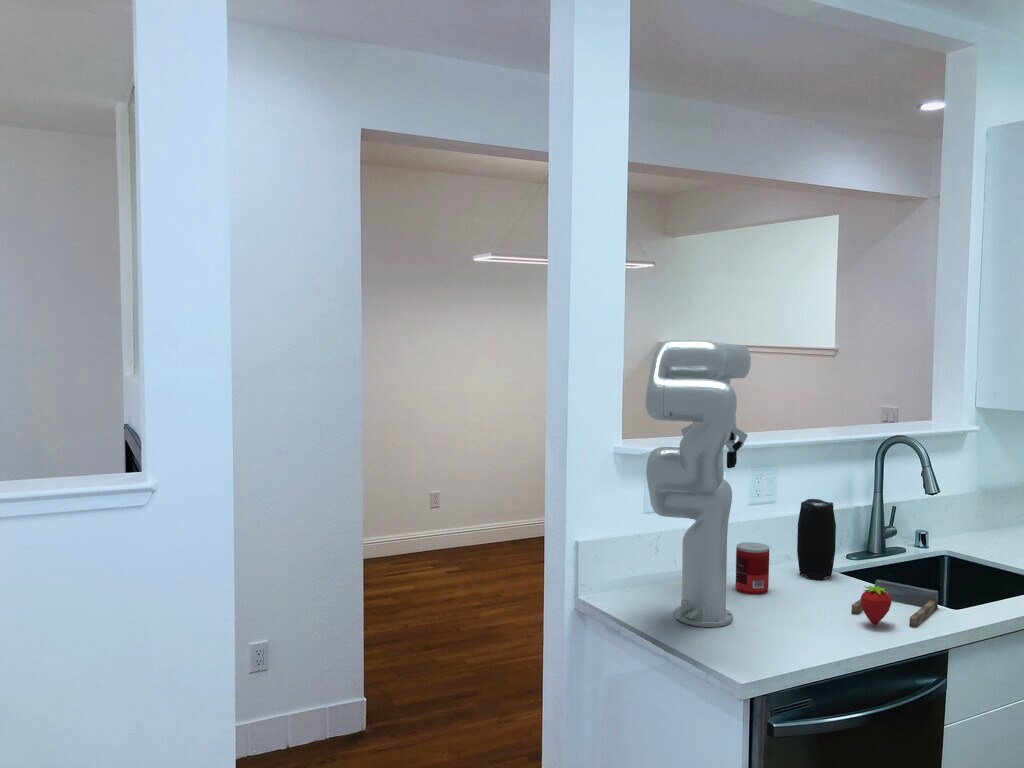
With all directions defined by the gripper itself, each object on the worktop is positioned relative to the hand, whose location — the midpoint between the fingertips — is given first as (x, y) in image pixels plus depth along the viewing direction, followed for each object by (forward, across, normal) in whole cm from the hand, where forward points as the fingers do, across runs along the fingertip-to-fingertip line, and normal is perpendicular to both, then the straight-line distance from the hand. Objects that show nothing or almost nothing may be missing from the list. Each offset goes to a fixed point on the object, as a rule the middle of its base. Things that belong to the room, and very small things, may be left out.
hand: (712, 465), depth 204 cm
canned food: (+31, -9, -4) cm, 32 cm away
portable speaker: (+31, -16, -26) cm, 43 cm away
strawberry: (+31, -40, +1) cm, 50 cm away
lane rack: (+30, -40, -11) cm, 51 cm away
